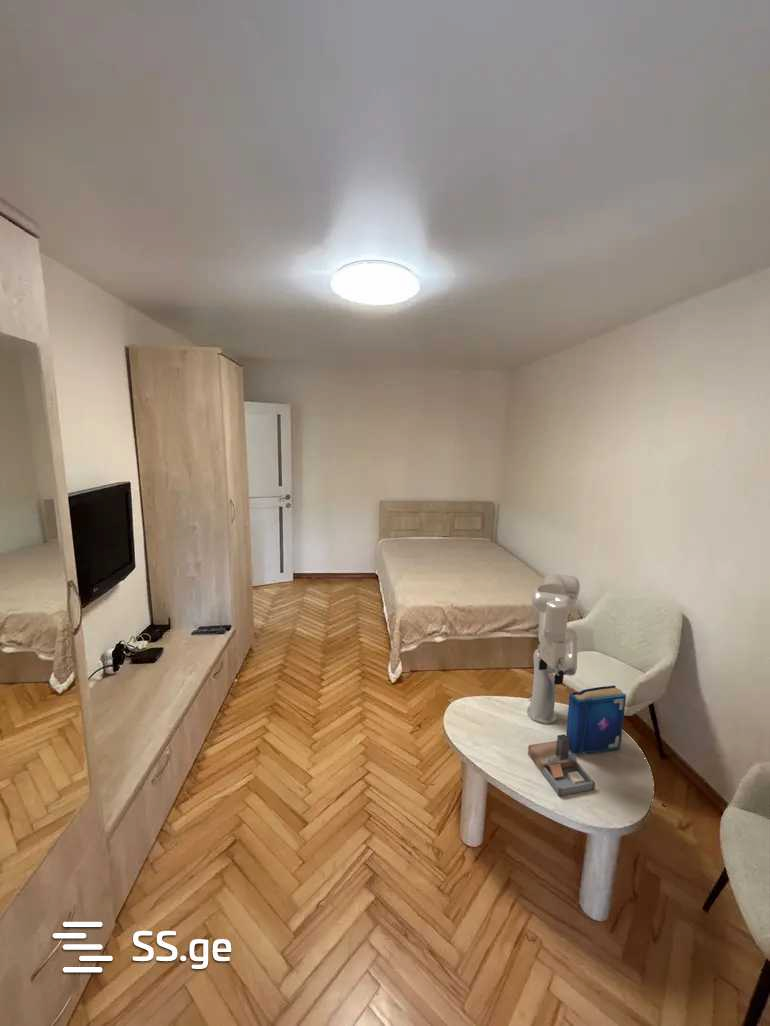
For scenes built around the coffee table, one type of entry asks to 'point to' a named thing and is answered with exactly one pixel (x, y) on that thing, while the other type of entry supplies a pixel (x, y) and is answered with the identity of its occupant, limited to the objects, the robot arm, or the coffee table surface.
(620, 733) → the book
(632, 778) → the coffee table surface
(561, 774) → the tile terracotta
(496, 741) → the coffee table surface
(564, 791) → the box
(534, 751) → the brown tray
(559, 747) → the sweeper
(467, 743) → the coffee table surface
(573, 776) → the tile cream
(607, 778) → the coffee table surface
